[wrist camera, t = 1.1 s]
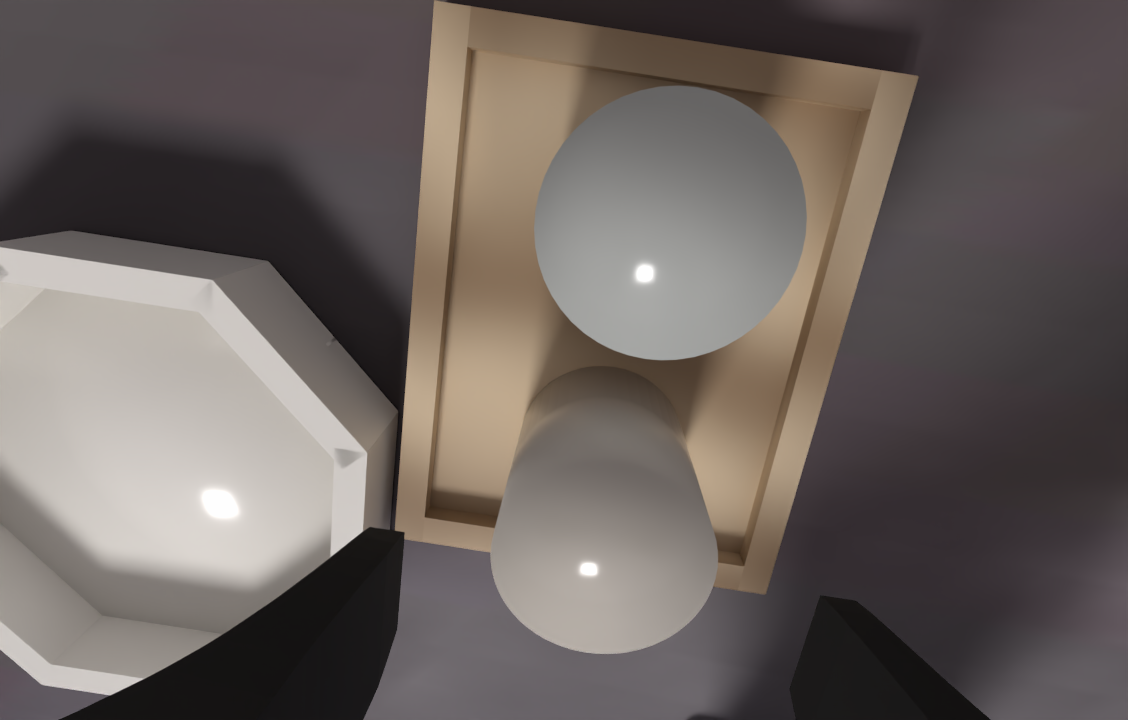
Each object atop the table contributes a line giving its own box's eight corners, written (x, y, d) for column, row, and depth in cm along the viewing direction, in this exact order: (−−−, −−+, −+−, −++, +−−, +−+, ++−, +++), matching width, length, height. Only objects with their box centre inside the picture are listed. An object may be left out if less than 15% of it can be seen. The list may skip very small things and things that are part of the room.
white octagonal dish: (380, 663, 21) (351, 732, 18) (-7, 604, 21) (-87, 665, 18) (407, 282, 17) (375, 305, 14) (-69, 208, 17) (-183, 218, 14)
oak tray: (756, 572, 19) (765, 594, 18) (404, 518, 19) (394, 537, 18) (898, 80, 15) (919, 75, 14) (444, 10, 15) (434, 0, 14)
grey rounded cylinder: (664, 523, 18) (692, 668, 13) (511, 499, 18) (479, 636, 13) (697, 379, 17) (741, 479, 12) (531, 354, 17) (505, 442, 12)
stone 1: (713, 306, 16) (769, 377, 11) (541, 279, 16) (518, 339, 11) (755, 123, 15) (840, 109, 10) (567, 94, 15) (554, 65, 10)
